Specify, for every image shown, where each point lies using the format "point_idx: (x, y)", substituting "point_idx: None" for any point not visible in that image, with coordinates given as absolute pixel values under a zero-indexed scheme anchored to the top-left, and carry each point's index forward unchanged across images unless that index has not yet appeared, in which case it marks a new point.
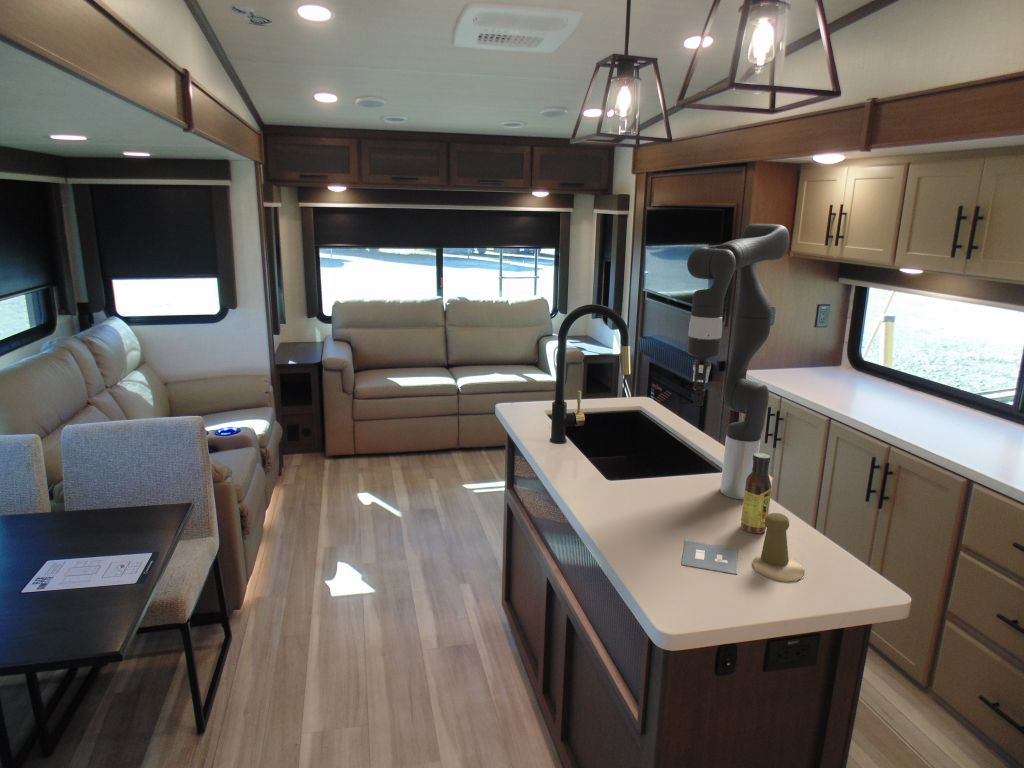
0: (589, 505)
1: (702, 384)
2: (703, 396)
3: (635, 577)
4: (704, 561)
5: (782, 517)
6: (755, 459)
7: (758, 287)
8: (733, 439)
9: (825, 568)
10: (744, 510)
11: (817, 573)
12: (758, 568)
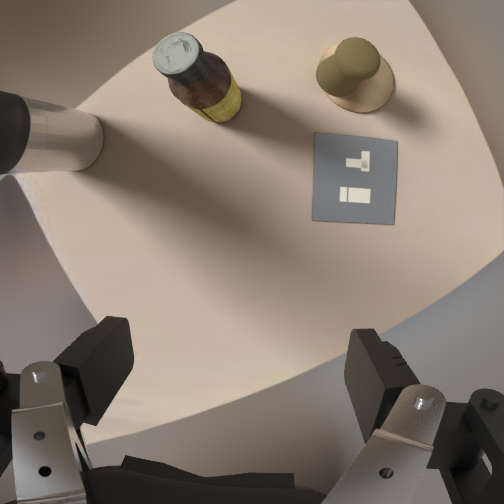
0: (225, 379)
1: (91, 378)
2: (393, 361)
3: (434, 285)
4: (375, 188)
5: (366, 46)
6: (193, 69)
7: None
8: (24, 152)
9: (326, 14)
10: (225, 113)
11: (346, 26)
12: (376, 106)
